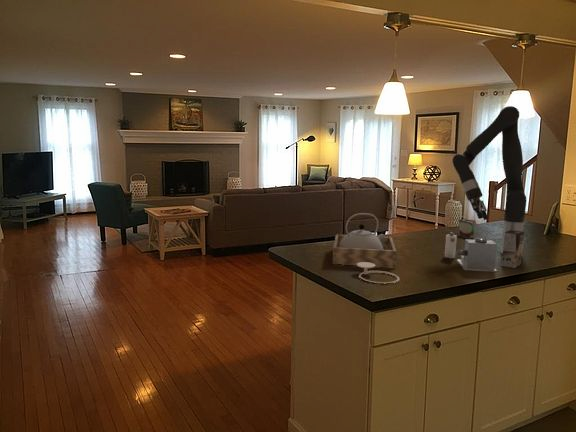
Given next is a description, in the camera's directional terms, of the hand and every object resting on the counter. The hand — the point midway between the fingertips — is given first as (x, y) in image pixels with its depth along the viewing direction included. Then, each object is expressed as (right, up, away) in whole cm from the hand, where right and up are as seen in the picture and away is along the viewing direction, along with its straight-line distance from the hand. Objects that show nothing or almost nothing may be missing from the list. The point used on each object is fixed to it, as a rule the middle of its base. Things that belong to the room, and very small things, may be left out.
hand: (483, 219), depth 238 cm
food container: (+11, -11, +48) cm, 50 cm away
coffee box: (+6, -22, -16) cm, 28 cm away
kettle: (-63, -19, -8) cm, 66 cm away
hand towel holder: (-62, -25, -39) cm, 77 cm away
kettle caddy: (-62, -19, -8) cm, 66 cm away
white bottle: (-18, -19, -2) cm, 26 cm away
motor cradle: (-13, -22, -18) cm, 31 cm away
